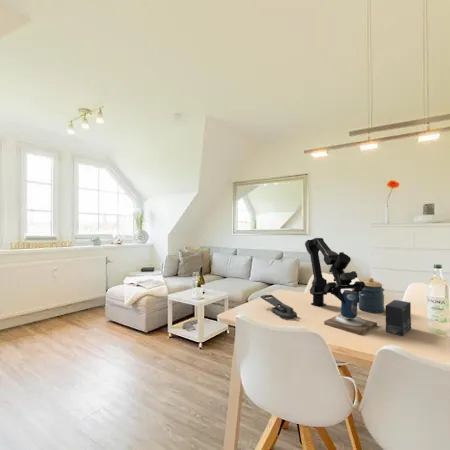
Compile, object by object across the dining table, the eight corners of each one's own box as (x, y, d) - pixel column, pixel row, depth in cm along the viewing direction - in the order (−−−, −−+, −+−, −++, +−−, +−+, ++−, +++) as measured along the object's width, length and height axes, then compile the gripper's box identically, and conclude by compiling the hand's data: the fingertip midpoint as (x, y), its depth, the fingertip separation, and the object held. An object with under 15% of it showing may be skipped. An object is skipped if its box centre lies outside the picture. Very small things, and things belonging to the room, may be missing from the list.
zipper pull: (271, 293, 164) (299, 304, 142) (271, 305, 164) (299, 317, 142) (258, 295, 161) (285, 307, 138) (258, 307, 161) (285, 320, 138)
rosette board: (342, 316, 143) (342, 311, 143) (377, 325, 130) (376, 319, 130) (324, 324, 132) (324, 318, 132) (360, 335, 119) (360, 328, 119)
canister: (363, 304, 164) (362, 274, 164) (387, 309, 154) (387, 277, 154) (354, 309, 154) (354, 277, 154) (380, 314, 145) (379, 281, 145)
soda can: (354, 320, 126) (356, 294, 126) (338, 316, 130) (340, 291, 130) (357, 316, 132) (359, 291, 132) (342, 313, 136) (344, 289, 136)
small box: (394, 324, 131) (394, 299, 131) (411, 328, 126) (411, 302, 126) (385, 332, 122) (384, 305, 122) (403, 336, 117) (402, 308, 117)
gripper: (327, 265, 134) (339, 294, 123) (363, 264, 136) (378, 293, 125) (319, 278, 142) (330, 306, 131) (353, 277, 144) (367, 305, 133)
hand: (351, 302), depth 130 cm, fingers closed on soda can, 6 cm apart
